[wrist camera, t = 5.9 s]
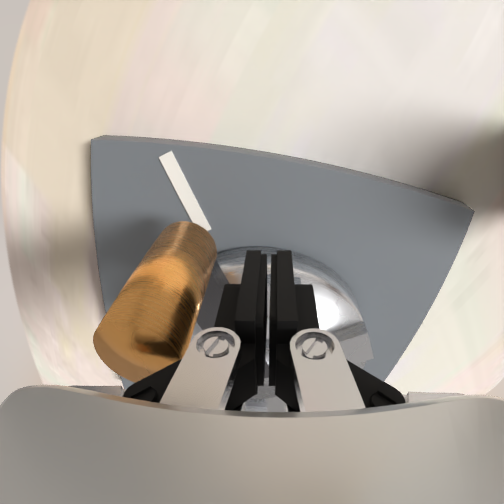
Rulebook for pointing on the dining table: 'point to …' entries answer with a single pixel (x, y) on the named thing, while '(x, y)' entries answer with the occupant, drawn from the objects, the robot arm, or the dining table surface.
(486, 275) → the dining table surface
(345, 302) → the lugged disc with pin
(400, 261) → the base plate
